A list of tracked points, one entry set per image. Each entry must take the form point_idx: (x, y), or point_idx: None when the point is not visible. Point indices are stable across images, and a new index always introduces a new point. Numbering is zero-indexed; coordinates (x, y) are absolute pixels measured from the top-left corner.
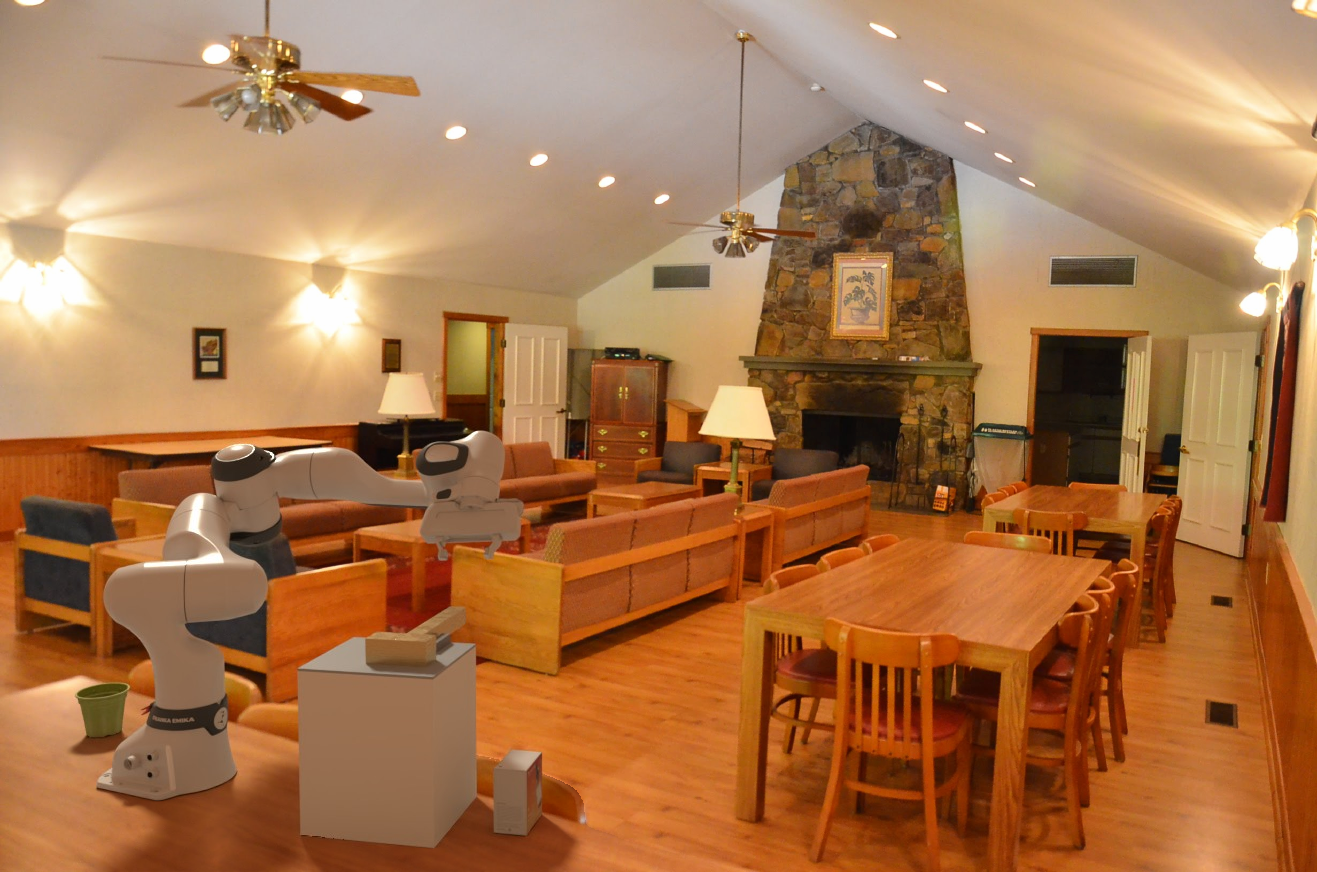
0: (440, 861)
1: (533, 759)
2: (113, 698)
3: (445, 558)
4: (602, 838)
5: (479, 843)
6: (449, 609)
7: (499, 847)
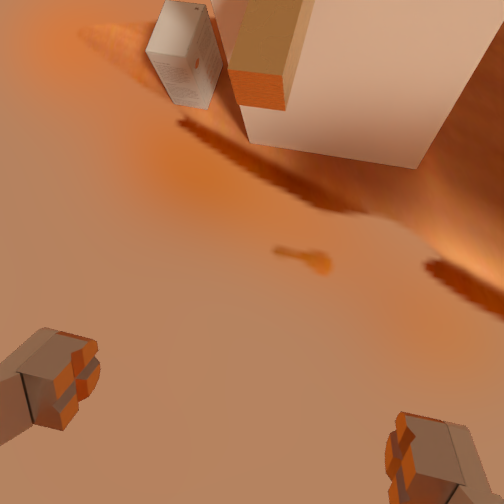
0: None
1: (156, 28)
2: None
3: (396, 434)
4: (118, 61)
5: None
6: (277, 38)
7: (216, 41)
